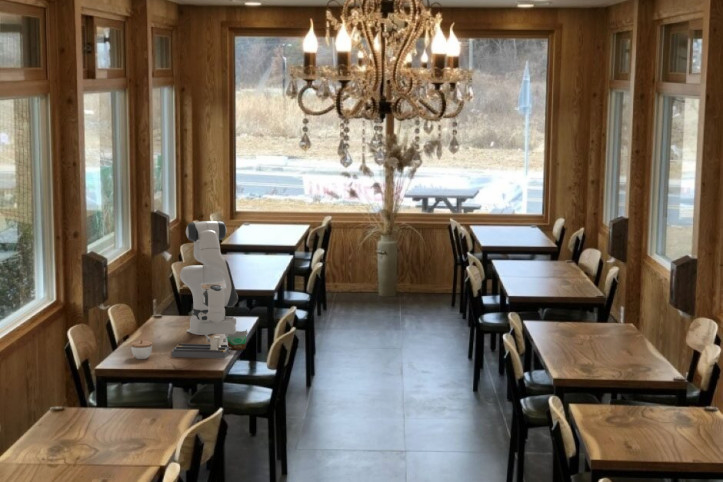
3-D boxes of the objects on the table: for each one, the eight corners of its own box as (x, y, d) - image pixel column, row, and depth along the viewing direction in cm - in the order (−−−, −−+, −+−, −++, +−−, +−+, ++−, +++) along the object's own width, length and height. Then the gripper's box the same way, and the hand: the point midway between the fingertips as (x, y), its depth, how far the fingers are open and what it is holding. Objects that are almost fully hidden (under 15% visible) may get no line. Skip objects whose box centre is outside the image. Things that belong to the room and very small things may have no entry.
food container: (229, 352, 570) (229, 333, 568) (225, 349, 575) (225, 331, 574) (251, 349, 576) (251, 331, 574) (247, 347, 581) (247, 329, 579)
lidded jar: (149, 354, 563) (148, 336, 562) (154, 359, 554) (154, 341, 552) (128, 356, 558) (128, 338, 557) (134, 361, 549) (134, 343, 547)
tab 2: (213, 346, 568) (213, 336, 567) (221, 346, 568) (221, 336, 567) (212, 347, 565) (212, 337, 564) (220, 348, 565) (220, 337, 564)
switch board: (177, 350, 571) (177, 343, 570) (229, 352, 570) (229, 344, 569) (171, 356, 558) (171, 349, 557) (224, 358, 557) (224, 350, 556)
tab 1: (210, 349, 561) (210, 339, 561) (218, 349, 561) (218, 339, 560) (209, 350, 558) (209, 340, 558) (217, 351, 558) (217, 340, 557)
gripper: (237, 315, 566) (237, 340, 568) (198, 314, 567) (199, 339, 569) (235, 318, 560) (235, 343, 562) (196, 317, 561) (196, 342, 563)
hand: (216, 341), depth 566 cm, fingers open, 7 cm apart
